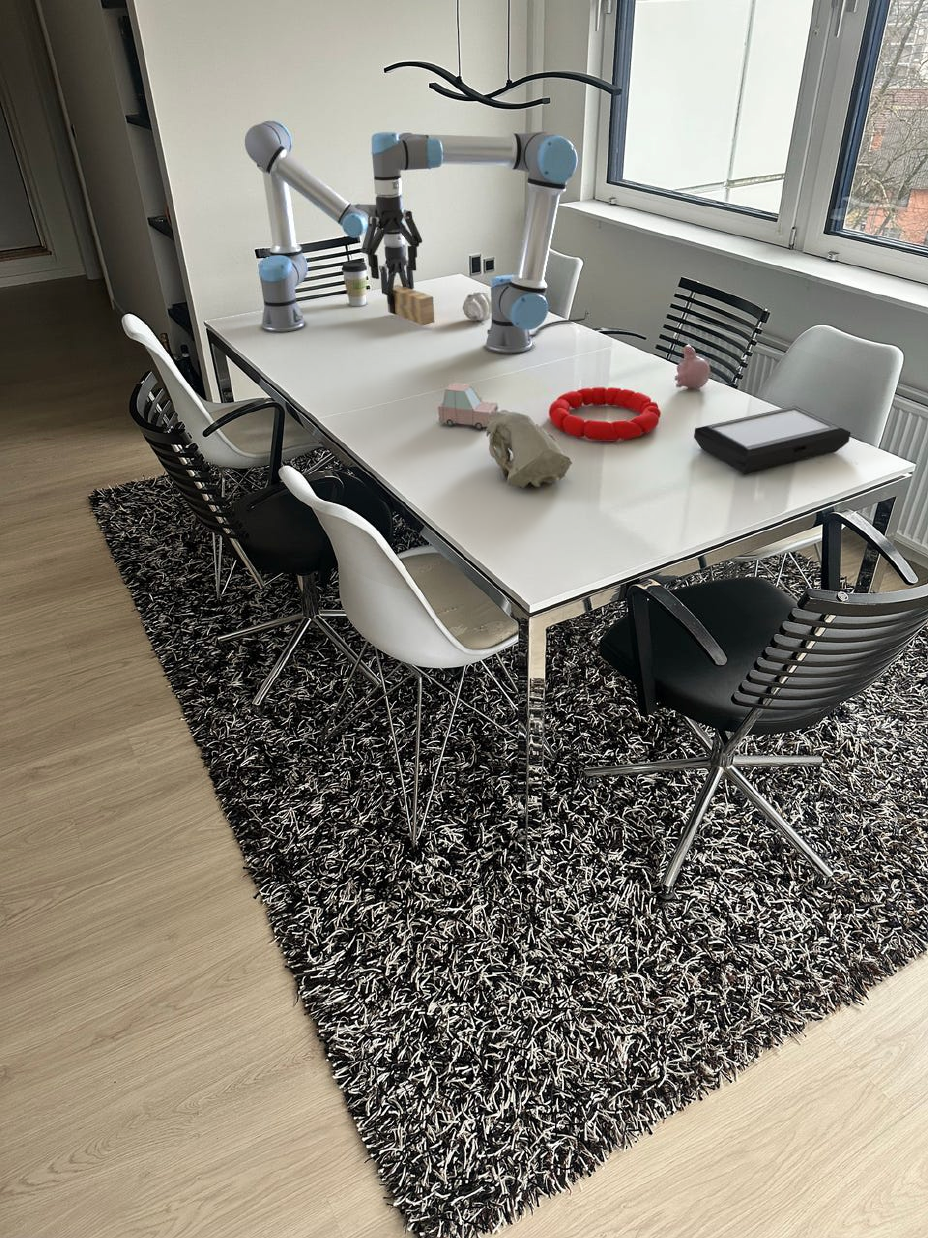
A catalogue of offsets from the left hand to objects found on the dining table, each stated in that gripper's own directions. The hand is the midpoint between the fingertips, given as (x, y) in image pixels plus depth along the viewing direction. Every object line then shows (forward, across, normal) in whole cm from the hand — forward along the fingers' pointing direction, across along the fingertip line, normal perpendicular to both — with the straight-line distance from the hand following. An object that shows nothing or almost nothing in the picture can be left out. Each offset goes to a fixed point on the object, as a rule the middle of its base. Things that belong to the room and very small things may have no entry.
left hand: (399, 311), depth 331 cm
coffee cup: (+2, -3, +26) cm, 26 cm away
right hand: (-29, -35, -54) cm, 70 cm away
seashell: (+2, +19, -24) cm, 31 cm away
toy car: (+2, -42, -99) cm, 108 cm away
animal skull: (+2, -50, -132) cm, 141 cm away
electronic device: (+2, +5, -163) cm, 163 cm away
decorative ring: (+2, -14, -123) cm, 123 cm away
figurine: (+2, +23, -121) cm, 123 cm away
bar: (+1, 0, -8) cm, 8 cm away
